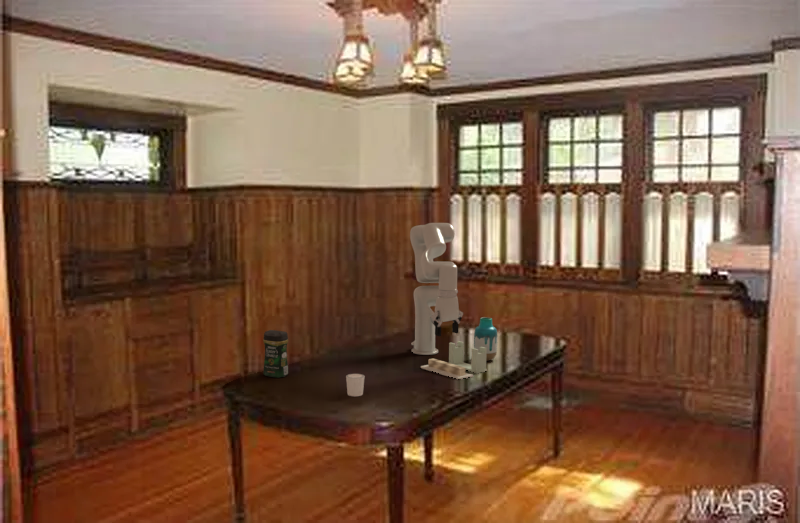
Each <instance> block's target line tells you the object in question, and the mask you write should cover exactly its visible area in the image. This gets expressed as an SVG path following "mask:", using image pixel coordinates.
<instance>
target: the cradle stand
mask: <svg viewBox="0 0 800 523" xmlns="http://www.w3.org/2000/svg"><path fill="white" fill-rule="evenodd" d="M456 342H457V343H454V342H449V343H448V363H451V364H454V365H458V366H461V367H465V371H466V370H468V371H467V372H470V371H471V372H470V373H473V372H474V374H481V373H480V372H482V373H486V372H485V371H487V372H488V368H487V361H486V352H487V348H485V347H480V352H478V349H475V348H474V347H472V348H471V362H470V363H466V362H465V361H464V348H465V346H464V344H465V343H464V341H460V340H458V341H456Z"/></svg>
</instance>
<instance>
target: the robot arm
mask: <svg viewBox="0 0 800 523" xmlns="http://www.w3.org/2000/svg"><path fill="white" fill-rule="evenodd" d="M409 231H410V232H409V238H410V239H409V240H410V243H411V247H412V250H413V253H414V262H415V263H414V264H415V266H414V267H415V277H416V281H417V282H418V283H424V284H429V283H430V284H438V285H421V286H417V287H416V288H415V289H414V290H413V300H414V314H415V317H414V318H415V319H414V322H415V323H414V340H413V341H412V342H411V344H410V345H411V346H413V348H412V349H411V353H412V352H413V353H412V354H414V355H423V356H429V355H430V356H432V355H436V354H438V353H439V349H438V348H436V336H437V337H442V327H441V325H442V324H443V322H452V325H451V332H452V333H454V334H459V324H460V323H461V320H462V319H463V315H464V312H463V311H461V310H460V308H459V299H458V298H459V297H458V295H457V294H458V293H459V291H458V266H457V265H456V264H455V263H454V262H453V261H437V260H436V261H434V259H435V258H438V257H440V256H442V255H443V254H444V253H445V252H446V249H447V245H446V244H447V243H451V242H452V241H453V240H454V238H455V235H456V234H455V229H454V226H453V225H452V224H451V223H449V222H429V223H426V224H420V225H419V224H418V225H415V226H412V227H411V229H410V230H409ZM431 307H434V311H433V309H432V308H431Z"/></svg>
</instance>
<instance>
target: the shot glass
mask: <svg viewBox="0 0 800 523" xmlns="http://www.w3.org/2000/svg"><path fill="white" fill-rule="evenodd" d="M365 377H366V376H365V375H364V374H363V373H362V374H361V373H349V374H347V375H345V378H346V379H345V381H346V389H347V390H346V392H347V396H349V397H361V396H363V395H364V388H365V387H364V385H365Z"/></svg>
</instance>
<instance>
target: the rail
mask: <svg viewBox="0 0 800 523" xmlns="http://www.w3.org/2000/svg"><path fill="white" fill-rule="evenodd" d="M427 365H428V366H430V367H433V368H436V369H439V370H443V371H446V372H449V373H452V374H456V375H459V376H462V375H465V373H466V370H465V367H461V366H458V365H454V364H451V363H449V361H448V362H447V361H444V360H440V359H437V358H429V359H428V364H427Z"/></svg>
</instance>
